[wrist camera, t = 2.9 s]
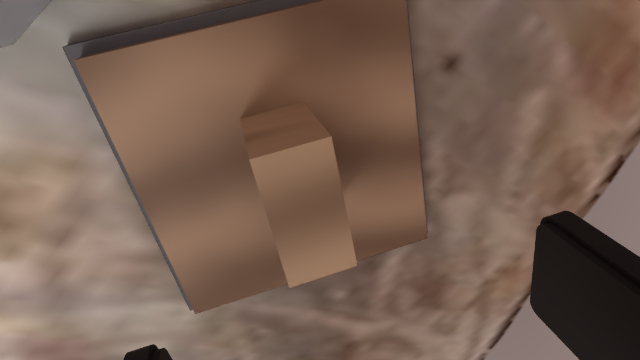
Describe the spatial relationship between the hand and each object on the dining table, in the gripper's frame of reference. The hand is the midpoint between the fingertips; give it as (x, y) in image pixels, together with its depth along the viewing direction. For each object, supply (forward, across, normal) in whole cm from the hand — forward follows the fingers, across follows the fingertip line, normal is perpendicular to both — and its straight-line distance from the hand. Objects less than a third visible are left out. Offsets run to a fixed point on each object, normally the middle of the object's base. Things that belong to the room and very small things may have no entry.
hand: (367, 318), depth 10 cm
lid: (+12, 0, +1) cm, 12 cm away
